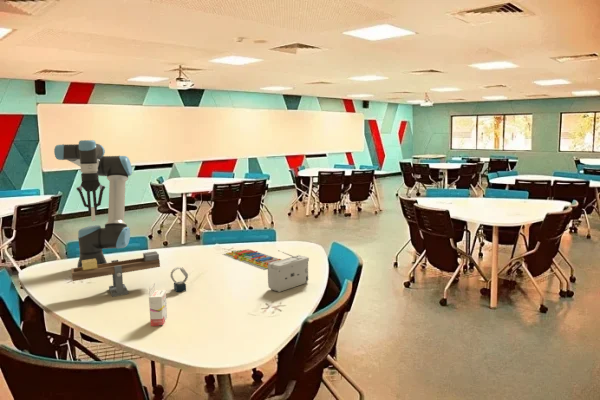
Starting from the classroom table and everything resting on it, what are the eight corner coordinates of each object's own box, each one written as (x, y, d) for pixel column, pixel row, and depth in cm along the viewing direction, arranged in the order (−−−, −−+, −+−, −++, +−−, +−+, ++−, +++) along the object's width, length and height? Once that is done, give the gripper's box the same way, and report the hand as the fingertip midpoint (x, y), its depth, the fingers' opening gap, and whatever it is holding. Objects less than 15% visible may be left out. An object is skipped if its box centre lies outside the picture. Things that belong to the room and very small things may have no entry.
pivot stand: (108, 288, 223) (106, 260, 221) (124, 286, 226) (122, 258, 224) (112, 297, 211) (110, 267, 209) (128, 294, 215) (126, 265, 213)
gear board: (221, 251, 284) (248, 246, 296) (222, 255, 284) (248, 250, 296) (264, 266, 249) (292, 260, 261) (264, 270, 249) (292, 264, 262)
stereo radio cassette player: (299, 279, 232) (298, 240, 229) (310, 283, 226) (310, 243, 224) (267, 289, 218) (266, 248, 215) (279, 293, 212) (277, 251, 209)
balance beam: (71, 275, 212) (70, 263, 211) (156, 262, 230) (155, 250, 229) (72, 281, 204) (71, 268, 204) (160, 266, 222) (159, 254, 221)
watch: (190, 289, 219) (189, 267, 218) (173, 293, 215) (171, 270, 214) (187, 286, 224) (185, 264, 223) (170, 289, 220) (168, 267, 219)
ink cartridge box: (163, 326, 178) (161, 289, 176) (150, 326, 178) (147, 290, 176) (167, 317, 187) (165, 282, 185) (155, 318, 186) (153, 282, 184)
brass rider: (82, 270, 212) (81, 260, 212) (96, 268, 215) (95, 258, 215) (83, 274, 208) (82, 263, 207) (97, 271, 210) (96, 261, 210)
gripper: (75, 173, 216) (79, 223, 219) (105, 172, 222) (108, 220, 225) (74, 172, 222) (78, 220, 226) (103, 171, 229) (106, 218, 232)
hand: (93, 220), depth 226 cm, fingers closed
